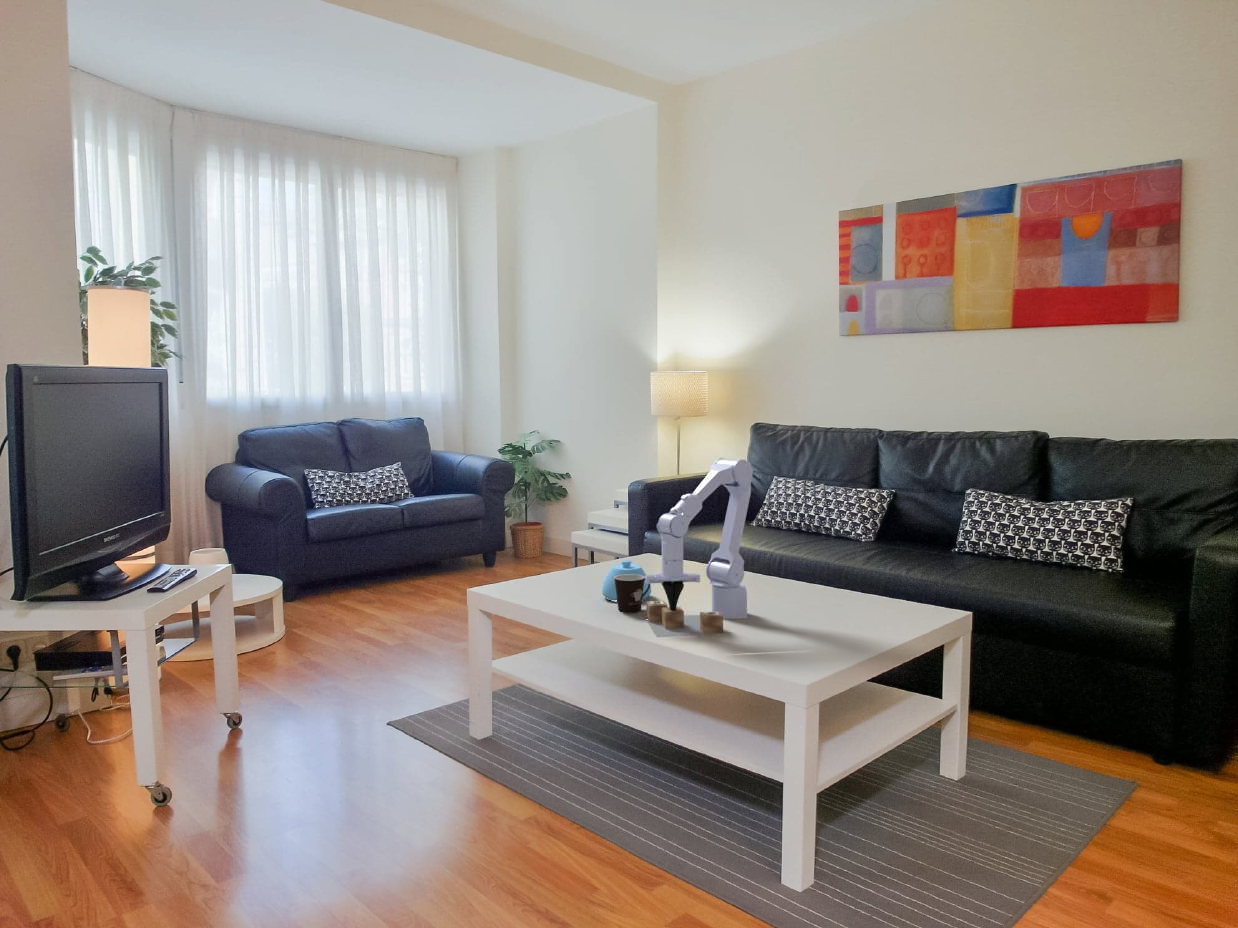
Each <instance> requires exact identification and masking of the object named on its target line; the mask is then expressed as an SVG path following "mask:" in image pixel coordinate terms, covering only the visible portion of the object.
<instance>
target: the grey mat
mask: <svg viewBox="0 0 1238 928" xmlns="http://www.w3.org/2000/svg"><path fill="white" fill-rule="evenodd" d="M644 619H645V620H646V619H647V616H644ZM646 623H648V625H649V627H650V629H651V630H652V632H653V633H654V635H655V637H656V638H661V637H665V638H666V637H681V636H683V637H684V636H706V635H711V634H704V633H703V632H702V631H701V630H700V614H693V615H692V614H689V615H688V614H687V615H685V614H684V628H674V629H665V628H664V626H663V625H662V622H649V621H648V620H646ZM725 634H726V632H725V631H724V630H723V633H715V634H714V635H725Z"/></svg>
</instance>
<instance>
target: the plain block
mask: <svg viewBox="0 0 1238 928" xmlns="http://www.w3.org/2000/svg"><path fill="white" fill-rule="evenodd" d="M684 615H685V611H684V609H682V607H681V606H676V610H670V608H669V606H668V607H664V608H662V625H663V626H664V628H665V629H674V628H684Z"/></svg>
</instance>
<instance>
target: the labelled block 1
mask: <svg viewBox="0 0 1238 928" xmlns="http://www.w3.org/2000/svg"><path fill="white" fill-rule="evenodd" d="M645 603H646V606H645V607H646V617H647V619H648V621H649V622H662V608H664V607H669V604H668V603H666V601H665V600H653V601H649V600H648V601H646V602H645Z"/></svg>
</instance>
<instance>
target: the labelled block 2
mask: <svg viewBox="0 0 1238 928" xmlns="http://www.w3.org/2000/svg"><path fill="white" fill-rule="evenodd" d="M699 615H700V630H701V631H702V632H703V633H704V634H710V635H716V634H715V633H723V631H724V619H723V615H722V614H721V613H720V612H719V611H714V612H709V611H700V612H699Z"/></svg>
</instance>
